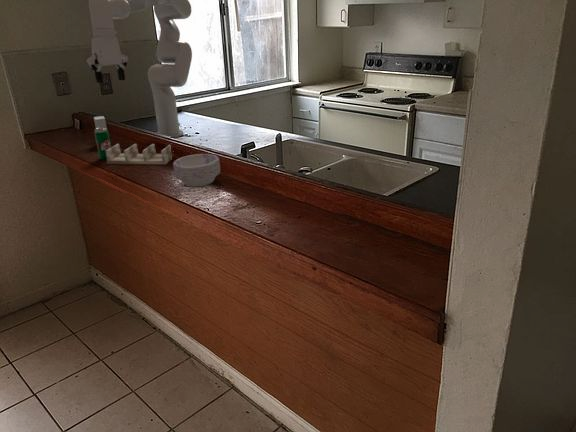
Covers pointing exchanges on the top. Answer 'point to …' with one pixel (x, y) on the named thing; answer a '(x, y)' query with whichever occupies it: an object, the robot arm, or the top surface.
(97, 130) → the soda can
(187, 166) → the paper bowls
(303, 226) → the top surface
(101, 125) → the skincare box
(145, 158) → the can rack
